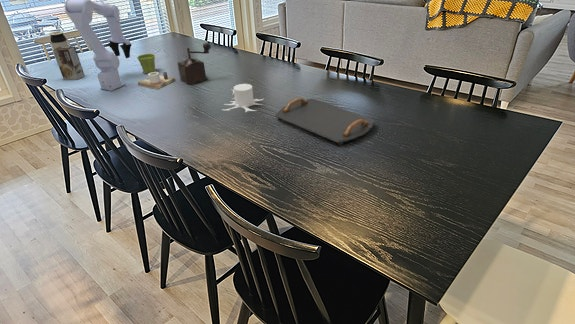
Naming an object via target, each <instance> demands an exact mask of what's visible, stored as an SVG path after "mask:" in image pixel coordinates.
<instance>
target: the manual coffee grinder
mask: <svg viewBox="0 0 575 324" xmlns="http://www.w3.org/2000/svg"><path fill="white" fill-rule="evenodd" d="M211 47H212V46H211V44H210V43H207V42H205V43H203V44H202V48H203V51H195V50H194V51H192V50H190V48H189V47H187V48H186V53H187V56H188V58H186V59H184V60H183V61H177V68H178V74H179V80H180V81H181V82H183V83H184V84H186V85H188V86H190V85H194V84H198V83H201V82H204V81H207V80H208V79H207V76H206V68H205V63H204V62H203V61H202V60H199V59H197V58H193V57H191V54H201V55H202V54H203V55H205V54H206V55H207V54H210V49H211Z"/></svg>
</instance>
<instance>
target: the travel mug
mask: <svg viewBox="0 0 575 324" xmlns="http://www.w3.org/2000/svg"><path fill="white" fill-rule="evenodd" d="M48 35H49V36H50V42H51V45H52V48H53V50H54V49H56V48H58V47H66V46H69V43H68V41H67V37H66V36H65V34H64V31H62V30H58V31H57V30H56V31H51V32H49V33H48Z"/></svg>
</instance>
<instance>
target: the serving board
mask: <svg viewBox="0 0 575 324" xmlns="http://www.w3.org/2000/svg"><path fill="white" fill-rule="evenodd" d="M274 117H275V118H277V121H285V122H287V123H289V124H292V125H294V126H297V127H299V128H302V129H304V130H306V131H309V132H311V133H313V134H315V135H318V136H320V137H323V138H326V139H328V140H331V141H332V142H335V143H336V144H337V146H341V147H342V146H343V145H344V143H345V142H349V141H351V140H355V139H357V138H359V137H362V136H364V135H366V134H367V133H369V131H370V130H371V129H372V128H373V127H374V125H375V124H376V123H375V120H374V119H373V118H370V117H367V116H365V115H362V114H360V113H356V112H352V111H350V110H348V109H345V108H342V107H339V106H335V105H334V104H333V105H332V104H330V103H326V102H324V101H321V100H318V99H314V98H308V99H304V98H303V97H296V98H294V99H292V100H291V101H289V102H288V103H287V104H286V105H285V106H284V107H283V108H281V109H280V110H279V111H278V112H276V114H275V116H274Z"/></svg>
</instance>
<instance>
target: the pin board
mask: <svg viewBox="0 0 575 324" xmlns="http://www.w3.org/2000/svg"><path fill="white" fill-rule="evenodd" d="M162 74H163V75H161V74H159V76H160V81H161V84H158V85H150V81H149V77H147V78H145V79H143V80H140V81H138V82H137V86H139V87H144V88H149V89H154V90H158V89H160V88H163V87H165V86H167V85H169V84H172V83H174V82H176V79H175V77H172V76H169V75H168V73H167V71H163V72H162Z"/></svg>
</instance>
